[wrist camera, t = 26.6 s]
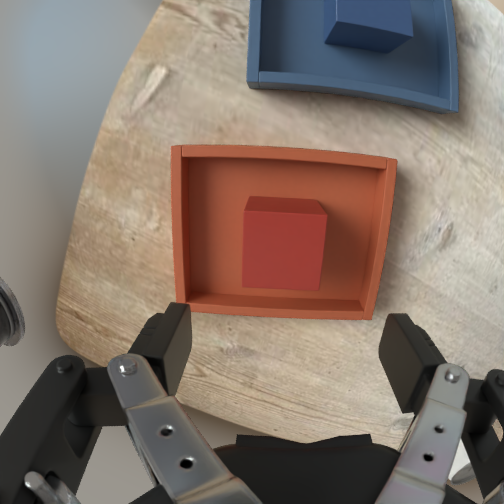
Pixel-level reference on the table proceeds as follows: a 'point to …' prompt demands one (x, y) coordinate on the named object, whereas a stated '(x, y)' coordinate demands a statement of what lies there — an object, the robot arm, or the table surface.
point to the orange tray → (285, 186)
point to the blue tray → (354, 56)
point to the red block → (283, 243)
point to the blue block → (368, 23)
